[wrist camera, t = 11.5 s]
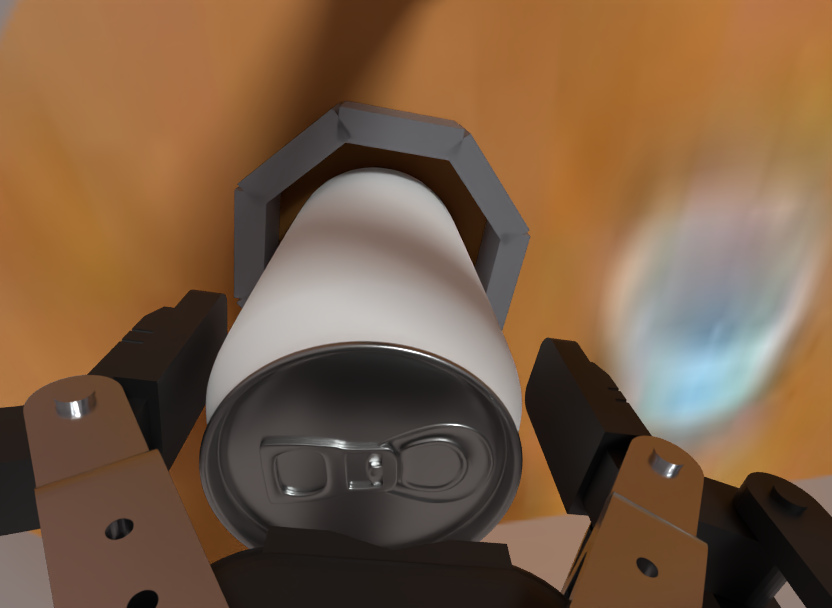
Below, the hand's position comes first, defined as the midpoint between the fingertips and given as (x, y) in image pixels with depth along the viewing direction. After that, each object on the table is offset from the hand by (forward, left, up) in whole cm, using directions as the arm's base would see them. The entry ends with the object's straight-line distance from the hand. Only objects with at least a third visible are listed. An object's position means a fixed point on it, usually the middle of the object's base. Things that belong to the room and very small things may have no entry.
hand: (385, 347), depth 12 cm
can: (0, 0, -8) cm, 8 cm away
